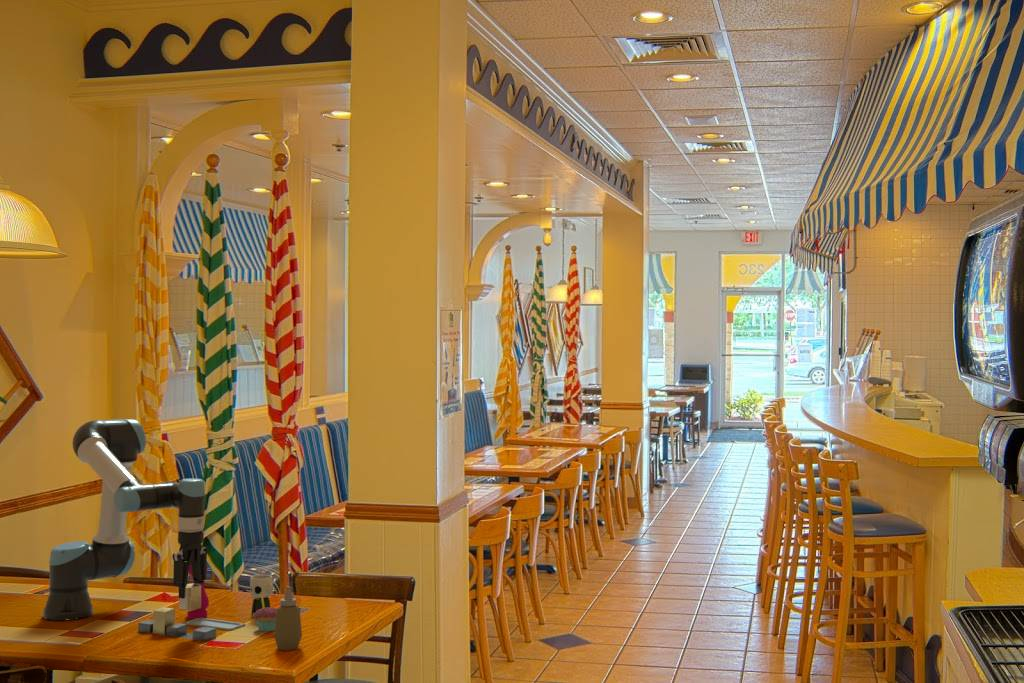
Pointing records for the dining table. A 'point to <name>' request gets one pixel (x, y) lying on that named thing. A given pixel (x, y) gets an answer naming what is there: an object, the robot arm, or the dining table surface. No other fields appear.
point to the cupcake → (265, 617)
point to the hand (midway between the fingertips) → (189, 606)
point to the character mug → (260, 591)
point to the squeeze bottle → (288, 623)
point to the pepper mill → (204, 601)
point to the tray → (215, 624)
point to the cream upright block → (163, 620)
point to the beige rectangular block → (193, 597)
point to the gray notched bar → (180, 631)
